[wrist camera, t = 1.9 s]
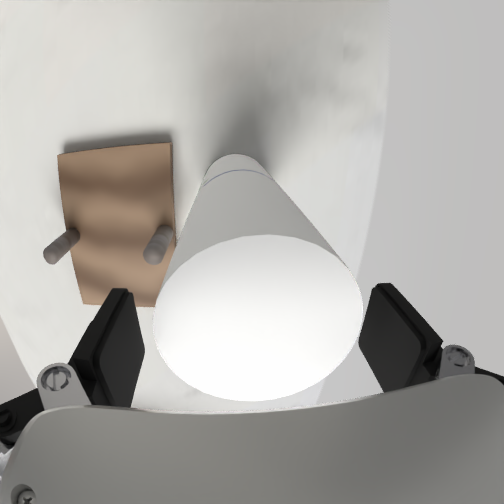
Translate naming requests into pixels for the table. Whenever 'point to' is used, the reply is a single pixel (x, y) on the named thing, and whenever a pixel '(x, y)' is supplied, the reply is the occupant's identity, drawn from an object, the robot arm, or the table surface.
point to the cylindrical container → (253, 292)
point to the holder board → (117, 220)
